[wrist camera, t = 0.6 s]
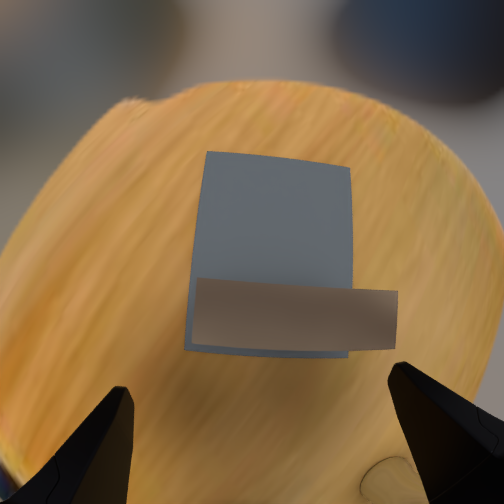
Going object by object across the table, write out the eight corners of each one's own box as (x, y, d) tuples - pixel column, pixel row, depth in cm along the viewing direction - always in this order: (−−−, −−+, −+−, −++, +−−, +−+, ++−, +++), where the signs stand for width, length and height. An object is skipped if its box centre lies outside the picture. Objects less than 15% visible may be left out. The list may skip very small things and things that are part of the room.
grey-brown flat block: (328, 335, 24) (394, 348, 13) (210, 328, 23) (191, 343, 12) (330, 300, 24) (398, 290, 14) (213, 292, 24) (196, 277, 13)
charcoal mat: (345, 357, 24) (347, 357, 23) (185, 349, 23) (184, 350, 23) (348, 170, 28) (349, 167, 27) (207, 153, 27) (207, 151, 26)
